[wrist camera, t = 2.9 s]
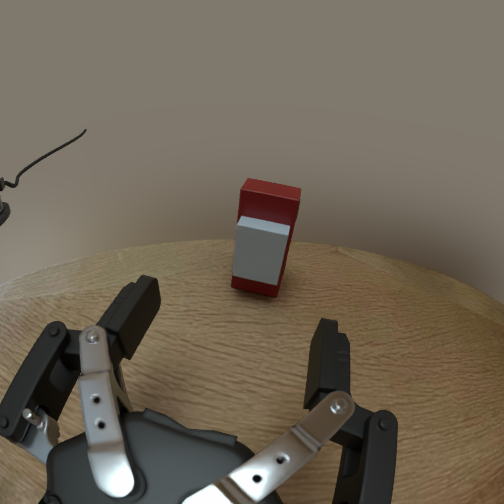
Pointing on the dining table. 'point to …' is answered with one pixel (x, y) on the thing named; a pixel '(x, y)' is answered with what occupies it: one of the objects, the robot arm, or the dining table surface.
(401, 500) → the dining table surface
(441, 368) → the dining table surface
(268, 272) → the red and grey block
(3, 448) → the dining table surface
